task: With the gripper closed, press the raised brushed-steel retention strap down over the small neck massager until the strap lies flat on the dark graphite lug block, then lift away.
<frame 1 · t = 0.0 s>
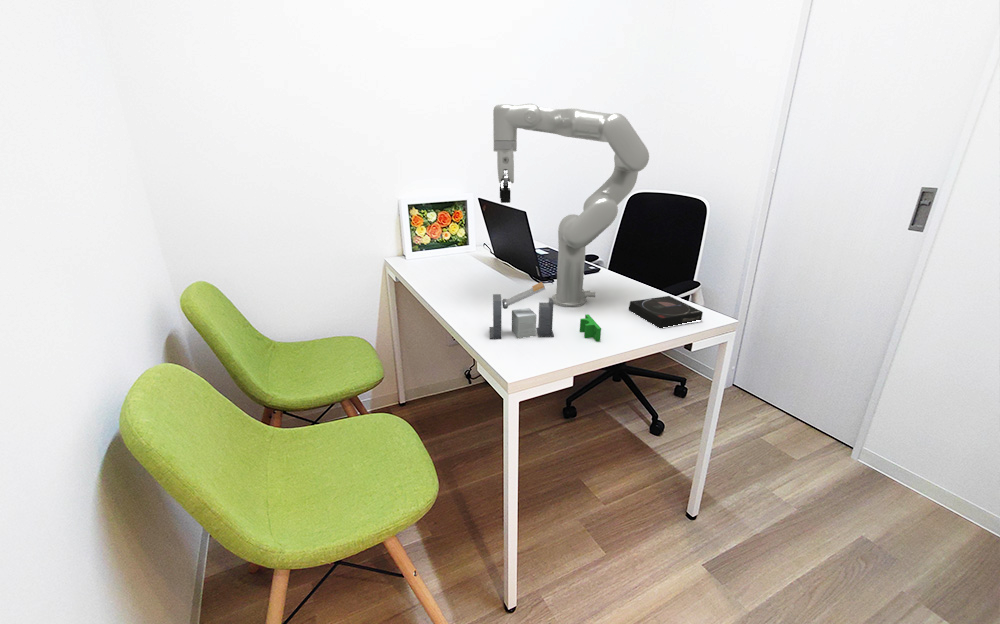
hand: (504, 200, 150), 37 cm above the table, tool pointing down, fingers open, 9 cm apart
hinge post: (497, 333, 138), on the table
portable cd player: (663, 317, 152), on the table
lug block: (543, 333, 138), on the table
product box: (523, 334, 138), on the table
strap: (523, 295, 134), point 13 cm above the table, hinge at 25.0°
pipe clamp: (588, 335, 138), on the table
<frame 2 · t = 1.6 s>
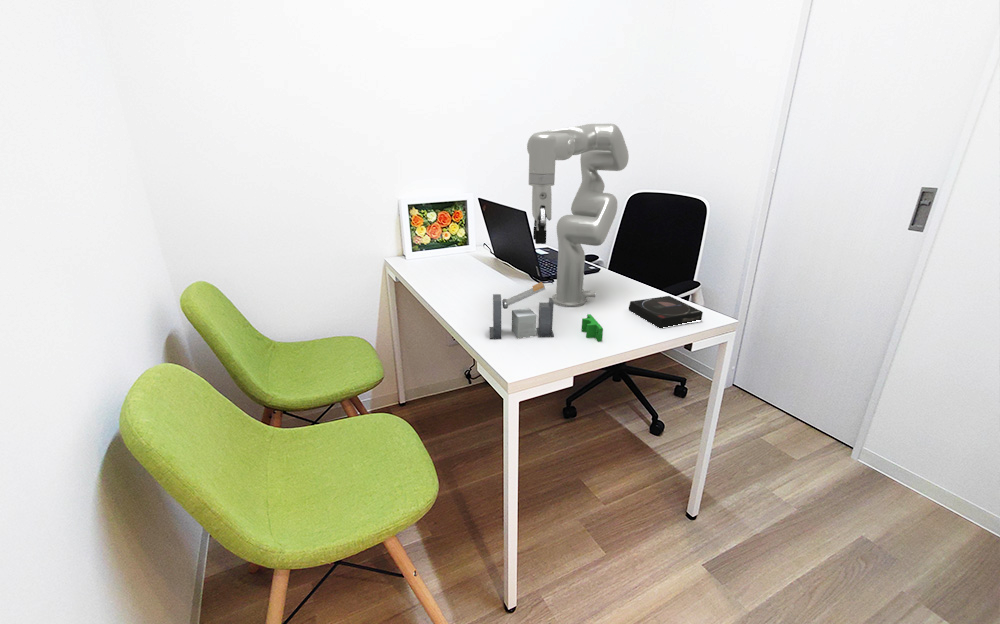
hand: (539, 240, 136), 27 cm above the table, tool pointing down, fingers open, 4 cm apart
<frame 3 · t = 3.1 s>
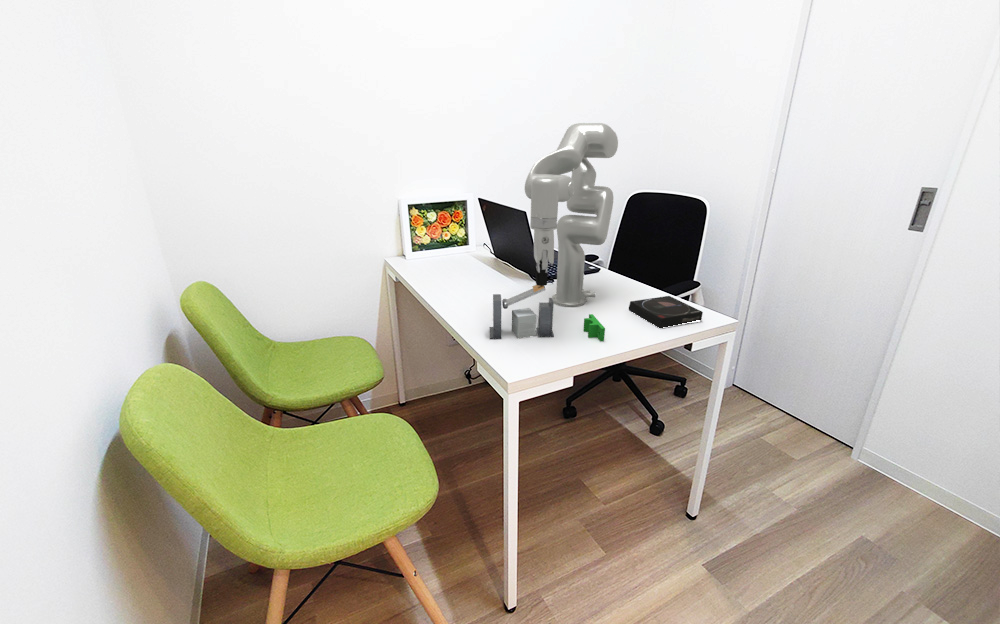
hand: (541, 284, 132), 16 cm above the table, tool pointing down, fingers closed
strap: (523, 295, 134), point 13 cm above the table, hinge at 24.0°, touching gripper
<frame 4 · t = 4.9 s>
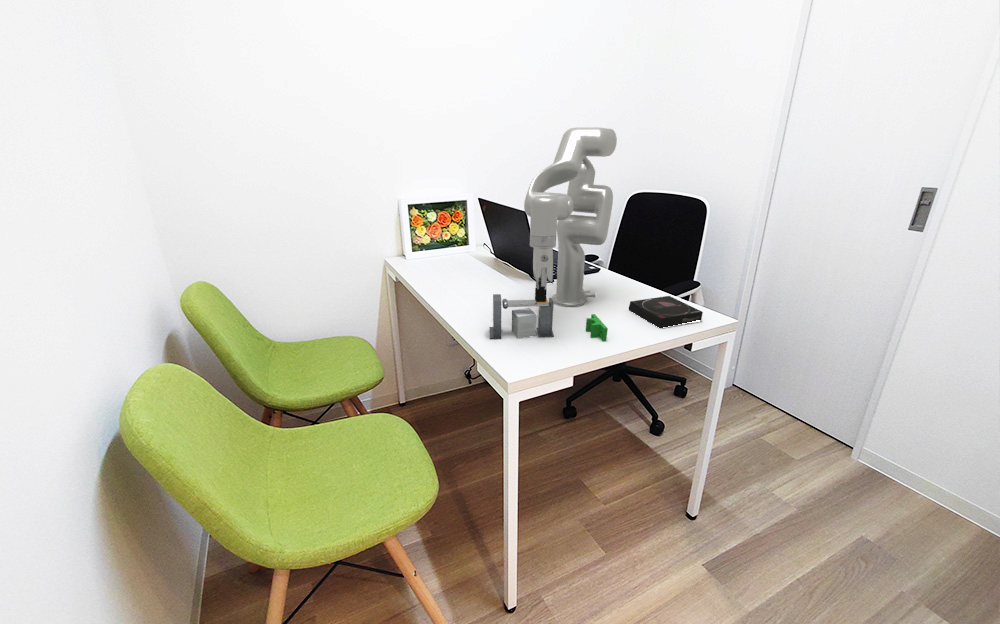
hand: (540, 300, 134), 11 cm above the table, tool pointing down, fingers closed
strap: (525, 303, 134), point 10 cm above the table, hinge at 0.6°, touching gripper
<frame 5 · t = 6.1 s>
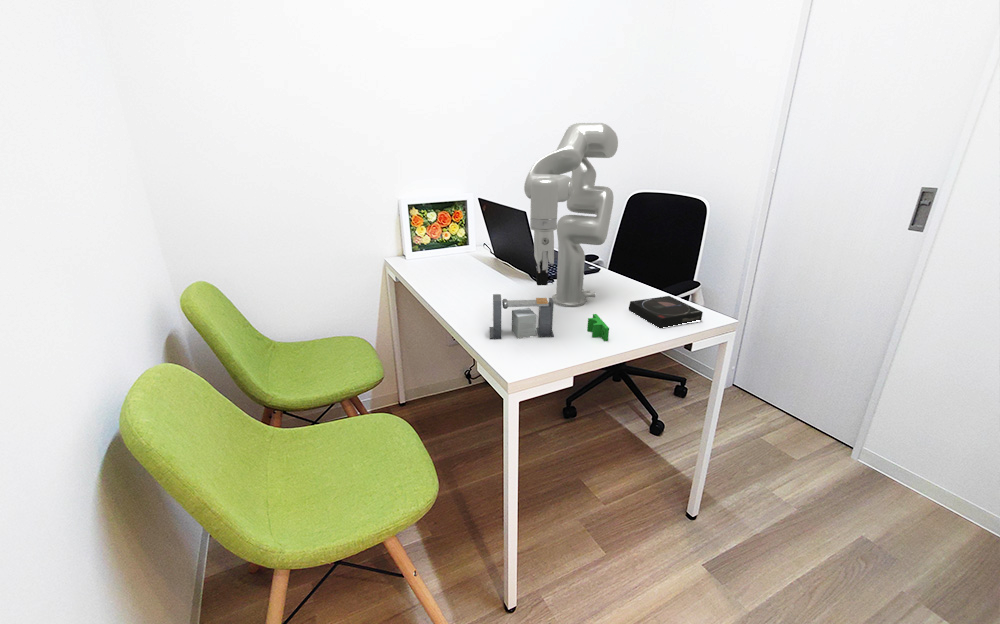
hand: (541, 284, 133), 16 cm above the table, tool pointing down, fingers closed
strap: (525, 303, 134), point 10 cm above the table, hinge at 0.6°
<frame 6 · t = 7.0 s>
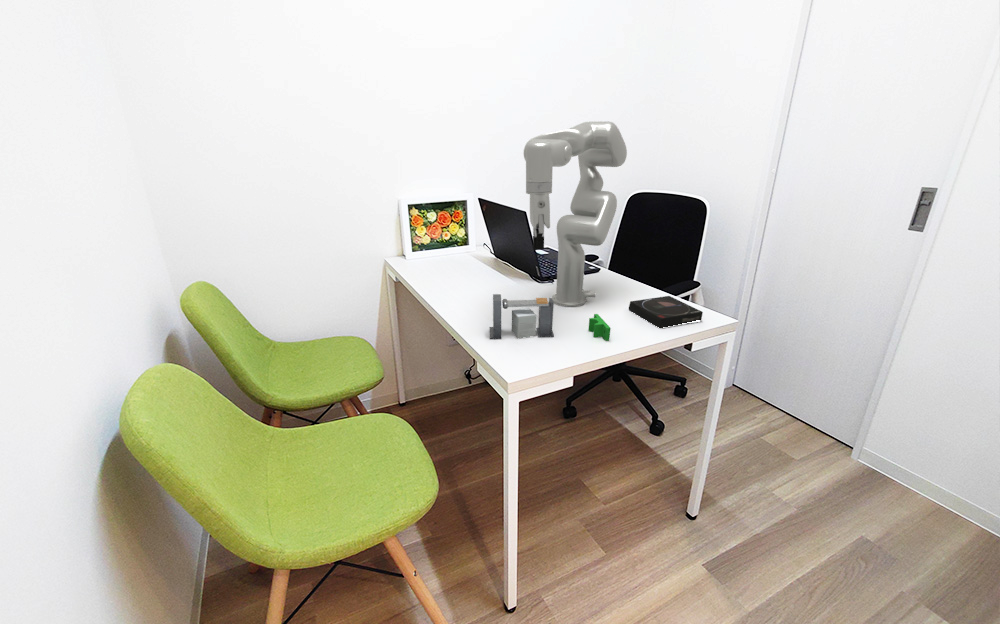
hand: (538, 249, 136), 25 cm above the table, tool pointing down, fingers closed
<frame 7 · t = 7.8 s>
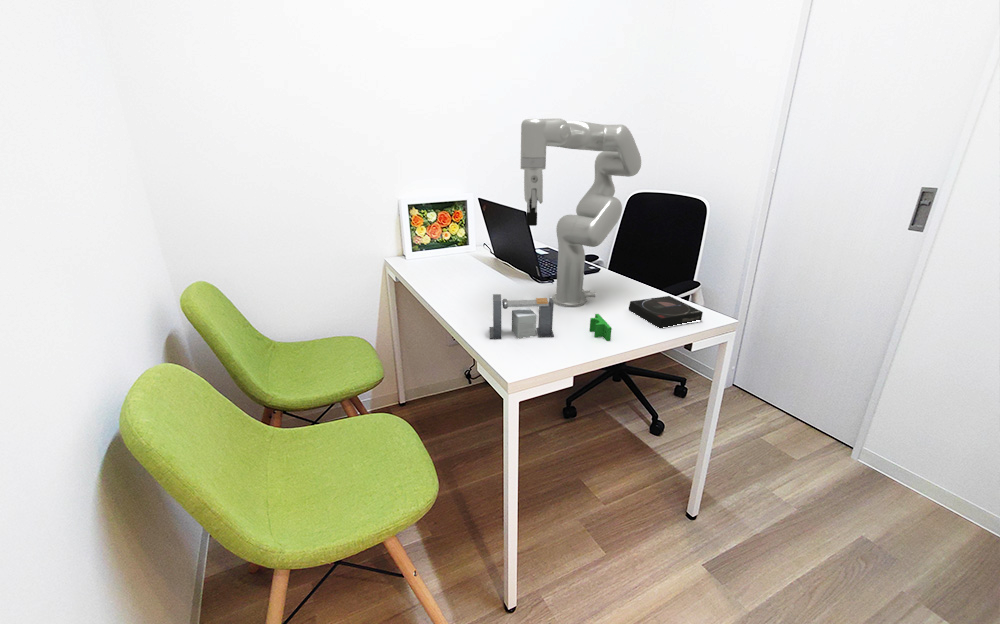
hand: (531, 225, 140), 31 cm above the table, tool pointing down, fingers closed
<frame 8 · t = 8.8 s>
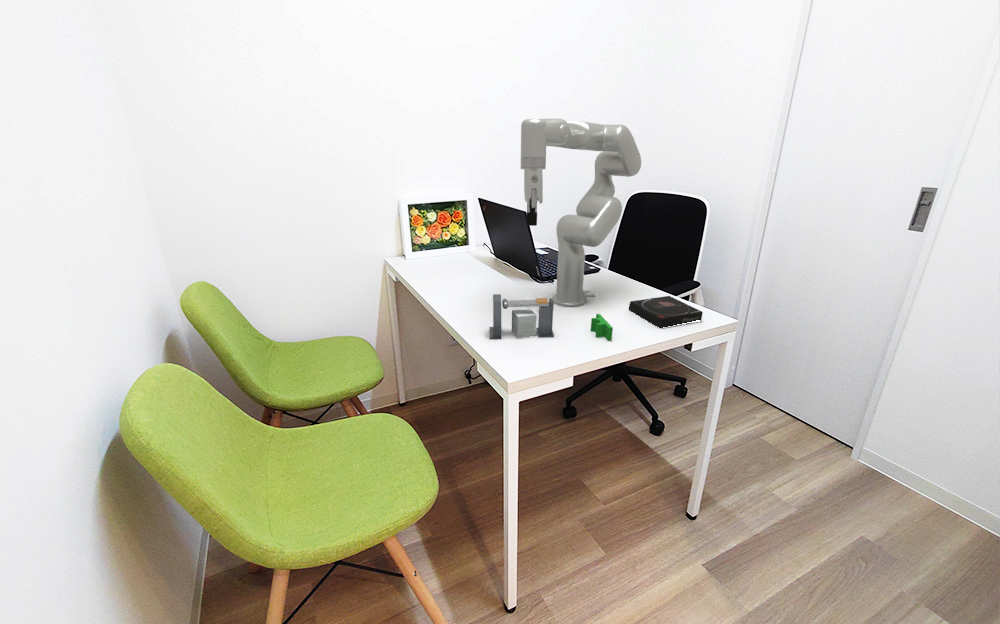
hand: (531, 225, 140), 31 cm above the table, tool pointing down, fingers closed
at the end: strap at +1° (first picture: +25°); product box moved 0.3 cm from its start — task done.
